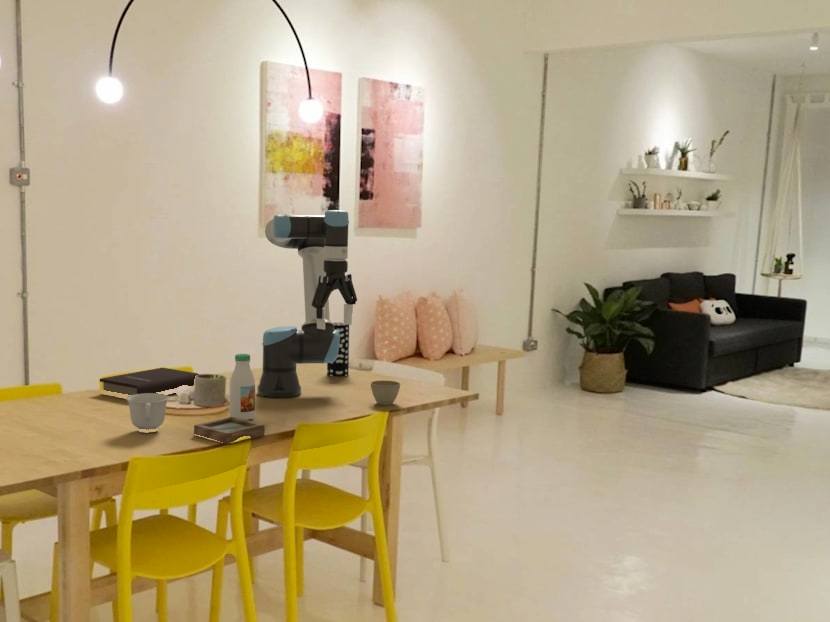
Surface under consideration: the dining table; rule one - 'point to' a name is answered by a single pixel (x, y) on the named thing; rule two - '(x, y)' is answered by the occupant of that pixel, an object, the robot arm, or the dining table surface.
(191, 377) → the book
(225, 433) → the brown wooden square tray
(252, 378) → the milk bottle
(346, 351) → the white-spotted black cylinder
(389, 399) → the bowl
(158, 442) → the dining table surface
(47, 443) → the dining table surface
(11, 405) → the dining table surface
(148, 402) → the teacup
